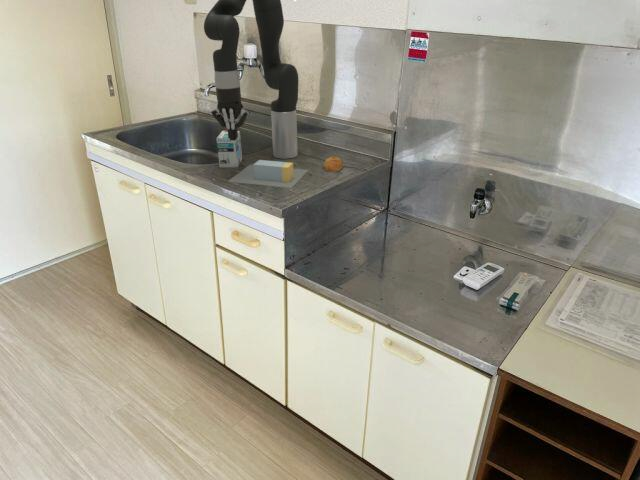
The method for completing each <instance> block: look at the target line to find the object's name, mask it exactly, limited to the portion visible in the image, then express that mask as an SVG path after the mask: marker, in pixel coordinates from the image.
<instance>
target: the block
mask: <svg viewBox="0 0 640 480" xmlns="http://www.w3.org/2000/svg"><path fill="white" fill-rule="evenodd" d="M252 165H253V167H254V179H260V180H270V181H279V182H289V181H290V180H291V179H292V178H293V177H294V174H293V168H294V162H290V161H289V162H285V161H277V160H275V161H274V160H264V159H259V160H257V161H256V162H255V163H253V164H252Z"/></svg>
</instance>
